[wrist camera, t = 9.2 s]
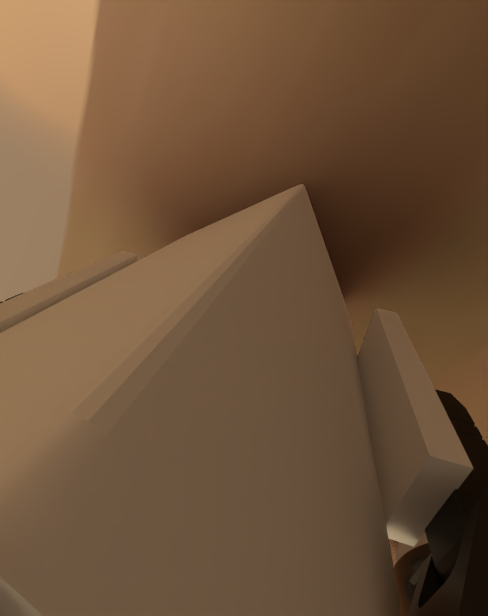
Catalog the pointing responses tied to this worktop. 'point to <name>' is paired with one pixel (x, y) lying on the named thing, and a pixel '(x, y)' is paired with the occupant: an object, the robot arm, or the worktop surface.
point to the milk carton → (194, 437)
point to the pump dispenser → (409, 569)
